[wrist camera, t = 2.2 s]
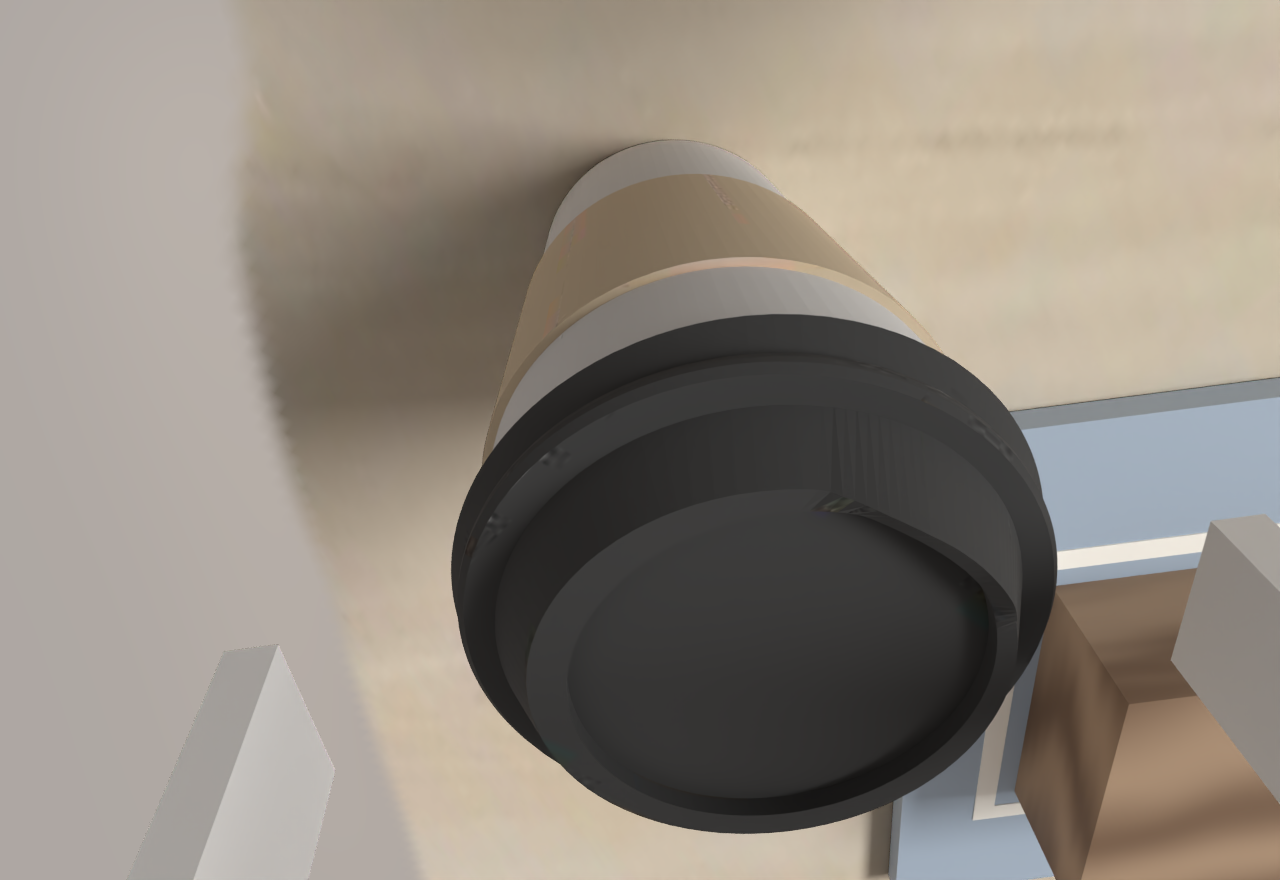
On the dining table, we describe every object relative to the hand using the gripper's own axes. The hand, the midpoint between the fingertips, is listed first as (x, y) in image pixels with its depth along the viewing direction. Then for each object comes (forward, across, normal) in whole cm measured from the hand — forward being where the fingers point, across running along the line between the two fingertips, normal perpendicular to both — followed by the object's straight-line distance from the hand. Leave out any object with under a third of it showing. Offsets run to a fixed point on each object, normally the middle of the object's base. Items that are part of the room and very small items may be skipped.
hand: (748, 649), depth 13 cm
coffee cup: (+14, 0, 0) cm, 14 cm away
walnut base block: (+13, +17, -18) cm, 28 cm away
